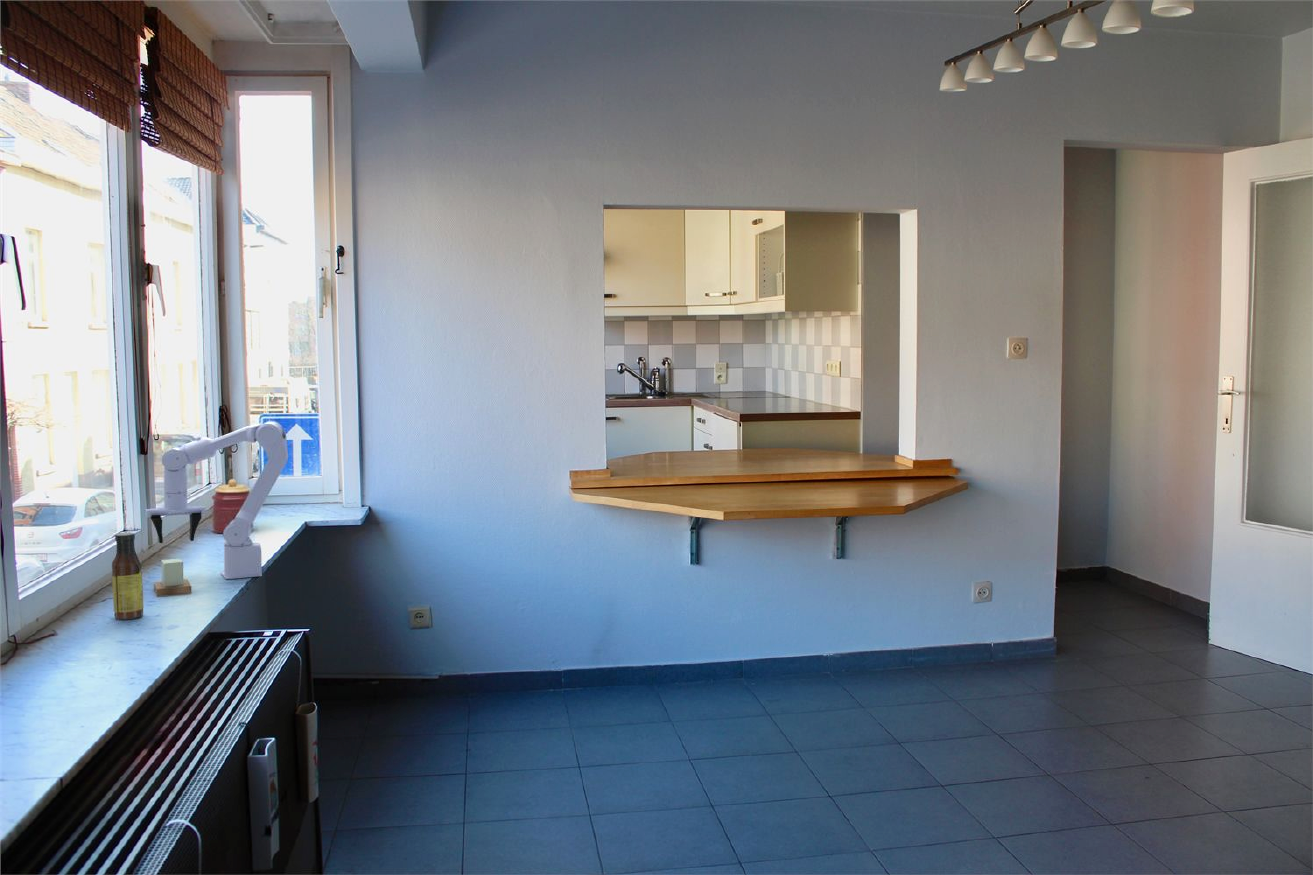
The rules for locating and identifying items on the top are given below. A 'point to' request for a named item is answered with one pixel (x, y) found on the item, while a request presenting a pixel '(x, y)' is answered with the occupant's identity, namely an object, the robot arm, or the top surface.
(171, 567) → the sage block
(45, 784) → the top surface
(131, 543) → the sauce bottle
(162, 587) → the walnut base block
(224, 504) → the canister
